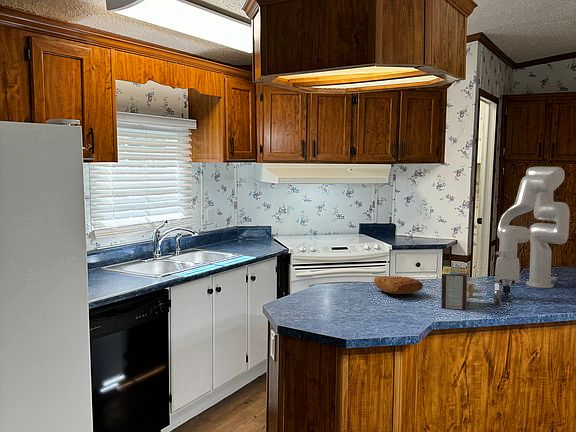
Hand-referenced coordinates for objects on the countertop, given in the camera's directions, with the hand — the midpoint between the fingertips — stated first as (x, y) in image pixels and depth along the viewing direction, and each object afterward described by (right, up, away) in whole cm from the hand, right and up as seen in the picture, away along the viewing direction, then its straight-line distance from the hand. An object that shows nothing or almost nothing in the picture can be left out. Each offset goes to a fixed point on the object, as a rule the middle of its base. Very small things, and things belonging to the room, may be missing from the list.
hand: (506, 294), depth 237 cm
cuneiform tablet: (-48, -1, +10) cm, 49 cm away
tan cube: (-13, -1, +14) cm, 19 cm away
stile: (-16, -2, +3) cm, 17 cm away
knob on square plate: (-8, -3, -9) cm, 13 cm away
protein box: (-27, -3, -10) cm, 29 cm away
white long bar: (-5, -2, -1) cm, 5 cm away
